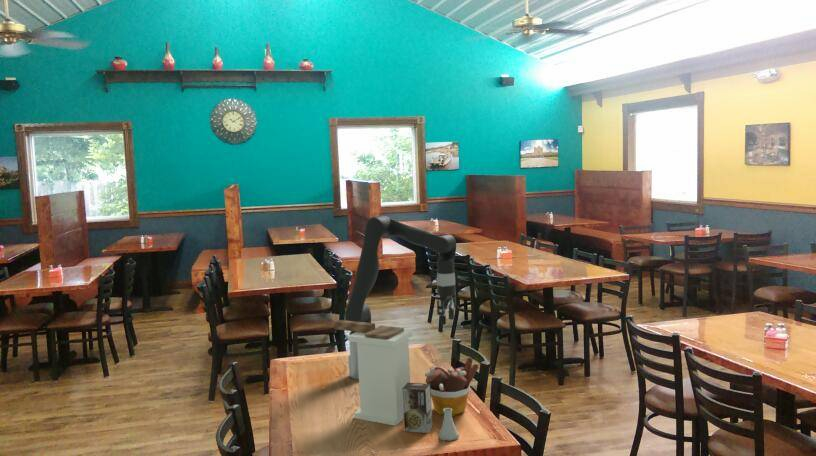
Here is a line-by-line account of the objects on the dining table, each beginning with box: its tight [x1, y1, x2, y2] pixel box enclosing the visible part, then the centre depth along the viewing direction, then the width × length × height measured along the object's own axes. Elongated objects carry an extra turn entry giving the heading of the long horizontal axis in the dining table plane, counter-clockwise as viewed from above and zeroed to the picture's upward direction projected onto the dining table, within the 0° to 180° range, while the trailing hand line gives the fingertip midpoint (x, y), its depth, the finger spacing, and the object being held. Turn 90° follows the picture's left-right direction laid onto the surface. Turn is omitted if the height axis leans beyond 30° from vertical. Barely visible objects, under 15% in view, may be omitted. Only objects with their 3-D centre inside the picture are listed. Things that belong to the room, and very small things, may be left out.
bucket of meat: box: [424, 356, 479, 417], centre depth 251 cm, size 20×16×20 cm
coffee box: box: [402, 382, 434, 434], centre depth 236 cm, size 9×6×16 cm
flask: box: [438, 408, 460, 442], centre depth 229 cm, size 7×7×10 cm
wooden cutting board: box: [333, 319, 405, 339], centre depth 250 cm, size 27×12×3 cm, turn 61°
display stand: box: [347, 326, 413, 426], centre depth 249 cm, size 20×14×32 cm
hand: (447, 321), depth 271 cm, fingers open, 8 cm apart
